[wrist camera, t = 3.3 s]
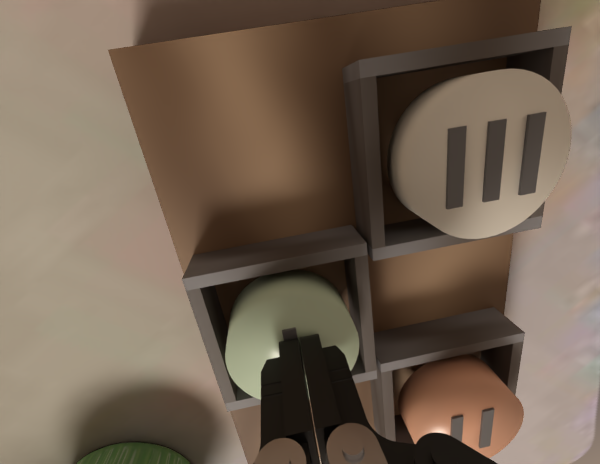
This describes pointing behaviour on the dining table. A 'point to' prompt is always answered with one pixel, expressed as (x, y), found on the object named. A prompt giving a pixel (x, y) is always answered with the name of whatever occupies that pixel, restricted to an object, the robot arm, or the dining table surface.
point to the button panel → (331, 181)
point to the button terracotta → (461, 404)
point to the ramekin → (134, 455)
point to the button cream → (480, 151)
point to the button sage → (284, 323)
